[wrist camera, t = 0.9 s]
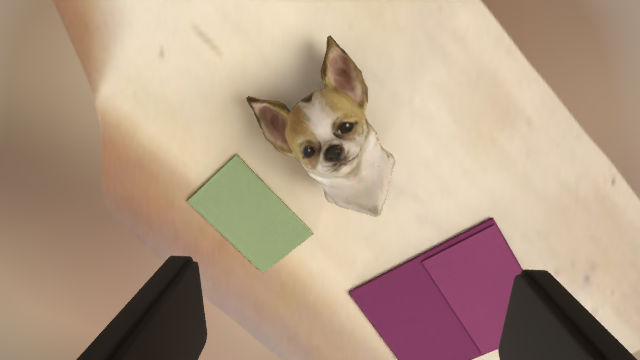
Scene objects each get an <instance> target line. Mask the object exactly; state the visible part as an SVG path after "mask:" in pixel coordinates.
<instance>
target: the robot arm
mask: <svg viewBox="0 0 640 360" xmlns="http://www.w3.org/2000/svg"><path fill="white" fill-rule="evenodd" d="M206 338H207V328H206V320H205V313H204V305H203V297H202V289H201V281H200V273H199V266H198V263H197V262H194V261H193V259H192V257H190V256H170V257H169V258H168V259H167V260H166V261H165V262H164V263H163V265H162V266H161V267H160V268H159V269H158V270H157V271H156V272H155V273H154V275H153V276H152V277H151V278H150V279H149V280H148V281H147V282H146V283H145V284H144V286H143V287H142V288H141V289H140V290H139V291H138V292H137V293H136V295H135V296H134V297H133V298H132V299H131V300H130V301H129V302H128V303H127V304H126V305H125V307H124V308H123V309H122V310H121V311H120V312H119V313H118V314H117V316H116V317H115V318H114V319H113V320H112V321H111V322H110V323H109V324H108V325H107V327H106V328H105V329H104V330H103V331H102V332H101V333H100V334H99V335H98V336H97V338H96V339H95V340H94V341H93V342H92V343H91V344H90V345H89V346H88V348H87V349H86V350H85V351H84V352H83V353H82V354H81V355H80V356H79V357H78V359H77V360H198V358H199V356H200V354H201V352H202V350H203V348H204V346H205V343H206ZM499 357H500V360H637V359H636V358H635V357H634V356H633V355H632V354H631V353H630V352H629V351H628V350H627V349H626V348H625V347H624V346H623V345H622V344H621V343H620V342H619V341H618V340H617V339H616V338H615V337H614V336H613V335H612V334H611V333H610V332H609V331H608V330H607V329H606V328H605V327H604V326H603V325H602V324H601V323H600V322H599V321H598V320H597V319H596V318H595V317H594V316H593V315H592V314H591V313H590V312H589V311H588V310H587V309H586V308H584V307H583V306H582V305H581V304H580V303H579V302H578V301H577V300H576V299H575V298H574V297H573V296H572V295H571V294H570V293H569V292H568V291H567V290H566V289H565V288H564V287H563V286H562V285H561V284H560V283H559V282H558V281H557V280H556V279H555V278H554V277H553V276H552V275H551V274H550V273H549V272H548V271H545V270H522V272H521V273H520V274H518V275H516V276H515V278H514V282H513V286H512V290H511V295H510V299H509V304H508V308H507V313H506V317H505V321H504V326H503V330H502V335H501V339H500V344H499Z"/></svg>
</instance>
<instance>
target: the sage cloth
mask: <svg viewBox="0 0 640 360" xmlns="http://www.w3.org/2000/svg"><path fill="white" fill-rule="evenodd" d="M187 202H188V203H189V204H190V205H191V206H192V207H194V208H195V209H196V210H197V211H198V212H199V213H200V214H201V215H202V216H203V217H204V218H205V219H206V220H207V221H208V222H209V223H210V224H211V225H212V226H214V227H215V228H216V229H217V230H218V231H219V232H220V233H221V234H222V235H223V236H224V237H225V238H226V239H227V240H228V241H229V242H230V243H231V244H232V245H234V246H235V247H236V248H237V249H238V250H239V251H240V252H241V253H242V254H243V255H244V256H245V257H246V258H247V259H248V260H249V261H250V262H251V263H252V264H254V265H255V266H256V267H257V268H258V269H259V270H260V271H261V272H262V273H264V272H266V271H267V270H268V269H269V268H271V267H272V266H273V265H275V264H276V263H277V262H278V261H280V260H281V259H282V258H283V257H285V256H286V255H287V254H289V253H290V252H291V251H292V250H294V249H295V248H296V247H297V246H299V245H300V244H301V243H303V242H304V241H305V240H306V239H308V238H309V237H310V236H311V235H313V232H312V231H311V230H310V229H309V228H308V227H307V226H306V225H305V224H304V223H303V222H302V221H301V220H300V219H299V218H298V217H297V216H296V215H295V214H294V213H293V212H292V211H291V210H290V209H289V208H288V207H287V206H286V205H285V204H284V203H283V201H282V200H281V199H280V198H279V197H278V196H277V195H276V194H275V193H274V192H273V191H272V190H271V189H270V188H269V187H268V186H267V185H266V184H265V183H264V182H263V181H262V180H261V179H260V178H259V177H258V176H257V175H256V174H255V173H254V172H253V171H252V170H251V169H250V168H249V167H248V166H247V165H246V164H245V163H244V162H243V160H242V159H241V158H240V157H239V156H238V155H236V156H235V157H233V158H232V159H231V160H230V161H229V162H228V163H227V164H226V165H225V166H224V167H223V168H222V169H221V170H220V171H219V172H218V173H217V174H215V175H214V176H213V177H212V178H211V179H210V180H209V181H208V182H207V183H206V184H205V185H204V186H203V187H202V188H201V189H200V190H199V191H197V192H196V193H195V194H194V195H193V196H192V197H191V198H190V199H189V200H188V201H187Z"/></svg>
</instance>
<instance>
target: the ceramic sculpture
mask: <svg viewBox="0 0 640 360" xmlns="http://www.w3.org/2000/svg"><path fill="white" fill-rule="evenodd" d="M321 78H322V80H323V84H324V86H325V89H324V90H320V91H316V92H314V93H312V94H310V95H308V96H307V97H305V98H304V99H303V100H301V101H300V102H299V103H297V104H296V106H295V107H294V108H293V109H292V110H291V112H290V111H289V109H288V108H287V106H286V105H285V104H283V103H281V102H279V101H271V100H261V99H257V98H254V97H250V96H248V97H246V99H247V101H248V103H249V105H250V107H251V108H252V109H253V111H254V114H255V116H256V118H257V121H258V123H259V125H260V128H261V129H262V130H263V134H264V136H265V138H266V139H267V140H268V141H269V142H271V144H272V145H273V146H274V148H275V149H276V150H277V151H279V152H282V153H284V154H286V155H289V156H295V157H296V158H297V159H298V160H299V162H300V163H301V164H302V166H303V167H304V169H305V170H306V171H307V172H308V174H309V176H311V177H312V178H314V179H315V180H316V181H317V182H318V183H320V184H321V186H322V188H323V190H324V193H325V198H326V200H327V201H328V202H329V203H333V204H335V205H337V206H339V207H342V208H345V209H349V210H352V211H355V212H358V213H363V214H367V215H370V216H373V217H378V216H379V215H380V214H381V212H382V208H383V205H384V202H385V200H386V197H387V191H388V186H389V183H390V179H391V176H392V171H393V167H394V164H395V158H394V156H393V155H392V154H390V153H389V152H388V151H387V150H385V149H383V148H382V146H381V145H380V143H379V140H378V138H377V136H376V135H377V133H376V132H375V130H374V129H373V127H372V126H371V125H370V124H369V122H368V121H367V119H366V115H365V109H366V105H367V102H368V88H367V86H366V84H365V82H364V79H363V76H362V72H361V70H360V69H359V68H358V67H357V66H356V65H355V63H354V62H353V61H352V59H351V58H350V57H349V56H348V54H347V53H346V52H345V51H344V50H343V49H342V48H340V47H339V45H338V44H337V43H336V41H335V40H334V39H333V38H332V37H331V36H328V37H327V50H326V54H325V57H324V61H323V64H322V68H321Z"/></svg>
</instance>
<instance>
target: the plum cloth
mask: <svg viewBox="0 0 640 360" xmlns="http://www.w3.org/2000/svg"><path fill="white" fill-rule="evenodd" d="M521 272H522V268H521V266H520V264H519V263H518V261H517V259H516V257H515V256H514V254H513V252H512V250H511V249H510V247H509V245H508V243H507V242H506V240H505V238H504V236H503V235H502V233H501V231H500V229H499V228H498V226H497V224H496V222H495V221H494V219H493V218H491V219H489V220H487V221H485V222H483V223H481V224H479V225H477V226H475V227H473V228H471V229H469V230H467V231H465V232H463V233H462V234H460V235H458V236H456V237H454V238H452V239H450V240H448V241H446V242H444V243H442V244H440V245H438V246H436V247H434V248H433V249H431V250H429V251H427V252H425V253H423V254H421V255H419V256H417V257H415V258H413V259H411V260H409V261H407V262H406V263H404V264H402V265H400V266H398V267H396V268H394V269H392V270H390V271H388V272H386V273H384V274H382V275H380V276H378V277H377V278H375V279H373V280H371V281H369V282H367V283H365V284H363V285H361V286H359V287H357V288H355V289H353V290H351V291H349V294H350V295H351V297H352V298H353V299H354V301H355V302H356V303H357V305H358V306H359V307H360V309H361V310H362V311H363V313H364V314H365V315H366V317H367V318H368V319H369V321H370V322H371V323H372V325H373V326H374V327H375V329H376V330H377V332H378V333H379V334H380V336H381V337H382V338H383V340H384V341H385V342H386V344H387V345H388V346H389V348H390V349H391V350H392V352H393V353H394V354H395V356H396V357H397V358H398V360H472V359H474V358H477V357H479V356H482V355H484V354H487V353H489V352H492V351H494V350H496V349H499V344H500V339H501V335H502V330H503V326H504V321H505V317H506V313H507V308H508V304H509V299H510V295H511V290H512V286H513V282H514V278H515V276H516V275H518V274H520V273H521Z"/></svg>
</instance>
